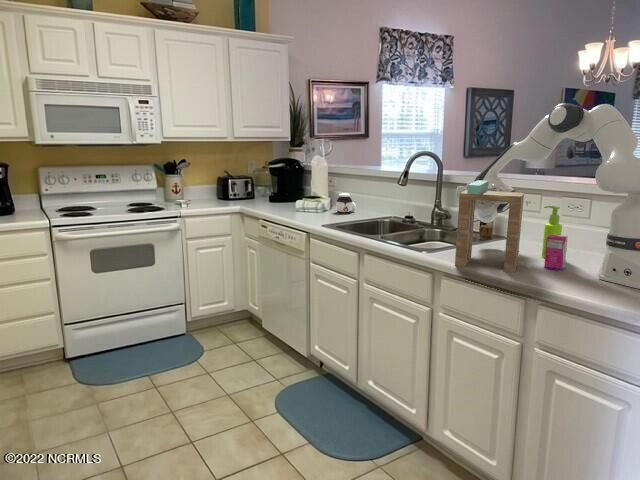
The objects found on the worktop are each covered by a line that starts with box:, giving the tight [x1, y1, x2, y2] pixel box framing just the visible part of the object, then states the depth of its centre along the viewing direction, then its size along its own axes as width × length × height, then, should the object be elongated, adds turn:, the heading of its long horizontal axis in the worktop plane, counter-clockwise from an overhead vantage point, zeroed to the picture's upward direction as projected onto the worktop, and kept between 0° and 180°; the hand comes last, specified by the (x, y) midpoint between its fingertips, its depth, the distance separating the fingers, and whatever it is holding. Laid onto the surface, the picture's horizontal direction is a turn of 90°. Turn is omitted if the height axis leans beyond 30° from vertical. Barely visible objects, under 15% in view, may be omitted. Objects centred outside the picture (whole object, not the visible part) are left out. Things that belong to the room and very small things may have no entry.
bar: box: [467, 180, 489, 194], centre depth 178 cm, size 24×4×3 cm, turn 154°
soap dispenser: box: [541, 205, 563, 260], centre depth 187 cm, size 6×7×20 cm
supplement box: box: [543, 235, 568, 271], centre depth 172 cm, size 6×6×12 cm
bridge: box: [454, 190, 525, 273], centre depth 174 cm, size 14×20×26 cm
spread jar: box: [335, 192, 357, 215], centre depth 301 cm, size 12×11×12 cm
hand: (481, 185), depth 185 cm, fingers open, 8 cm apart
